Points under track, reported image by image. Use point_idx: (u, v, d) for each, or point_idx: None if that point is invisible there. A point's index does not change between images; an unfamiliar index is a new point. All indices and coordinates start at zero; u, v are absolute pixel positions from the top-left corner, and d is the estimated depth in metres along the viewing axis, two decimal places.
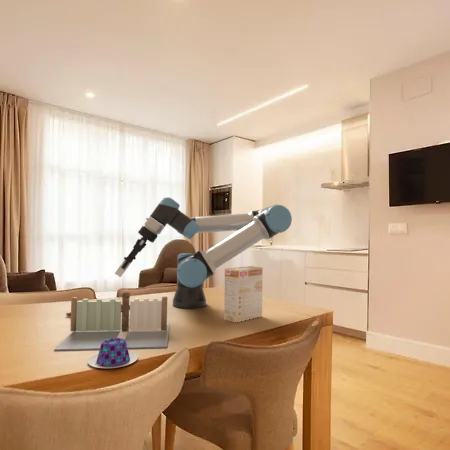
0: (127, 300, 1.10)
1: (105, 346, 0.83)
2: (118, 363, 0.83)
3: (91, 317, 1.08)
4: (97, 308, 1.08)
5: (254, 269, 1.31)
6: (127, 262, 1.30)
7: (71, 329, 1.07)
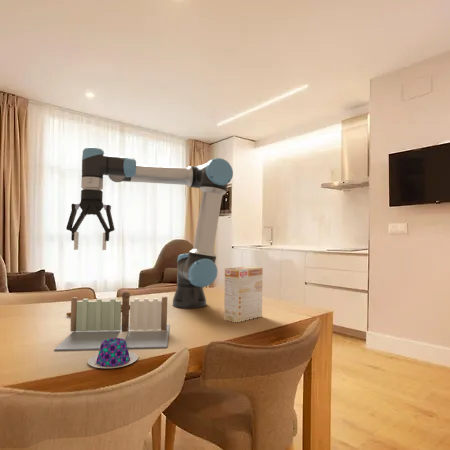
0: (127, 300, 1.10)
1: (105, 346, 0.83)
2: (118, 363, 0.83)
3: (91, 317, 1.08)
4: (97, 308, 1.08)
5: (254, 269, 1.31)
6: None
7: (71, 329, 1.07)
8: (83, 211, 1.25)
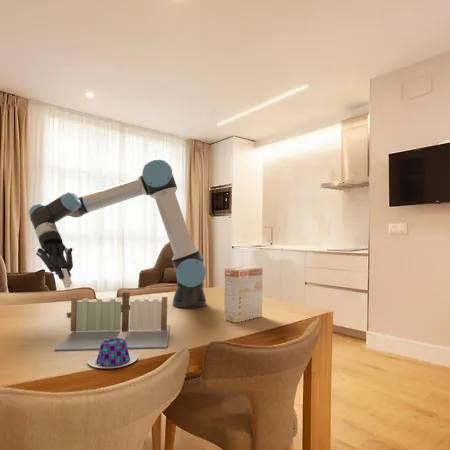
0: (127, 300, 1.10)
1: (105, 346, 0.83)
2: (118, 363, 0.83)
3: (91, 317, 1.08)
4: (97, 308, 1.08)
5: (254, 269, 1.31)
6: None
7: (71, 329, 1.07)
8: (53, 250, 1.25)
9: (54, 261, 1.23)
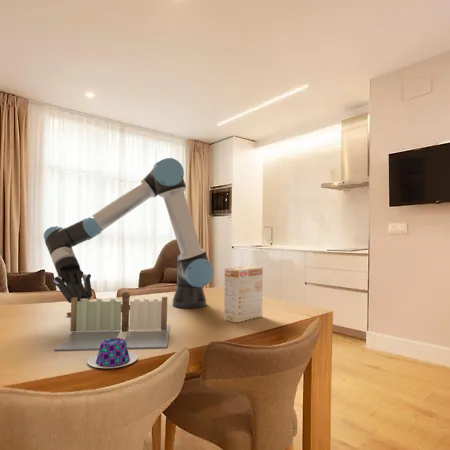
0: (127, 300, 1.10)
1: (104, 346, 0.83)
2: (117, 363, 0.82)
3: (91, 317, 1.08)
4: (97, 308, 1.08)
5: (254, 269, 1.31)
6: None
7: (71, 329, 1.07)
8: (71, 278, 1.16)
9: (72, 290, 1.14)
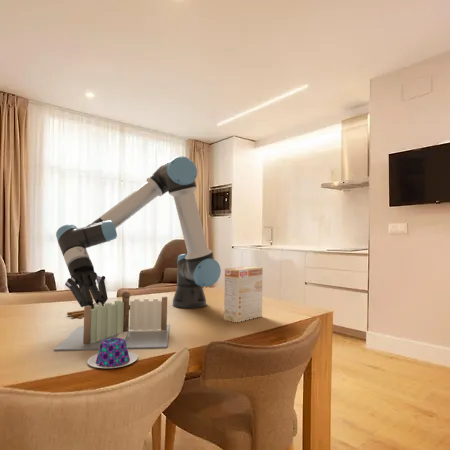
0: (127, 300, 1.10)
1: (104, 346, 0.83)
2: (116, 363, 0.82)
3: (102, 324, 1.01)
4: (108, 313, 1.02)
5: (254, 269, 1.31)
6: None
7: (87, 342, 0.95)
8: (84, 280, 1.09)
9: (85, 293, 1.07)
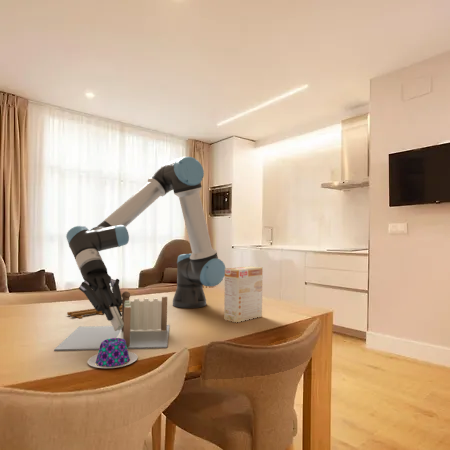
0: (127, 300, 1.10)
1: (103, 346, 0.83)
2: (115, 363, 0.82)
3: None
4: None
5: (254, 269, 1.31)
6: None
7: (129, 343, 0.95)
8: (99, 284, 1.04)
9: (100, 297, 1.02)
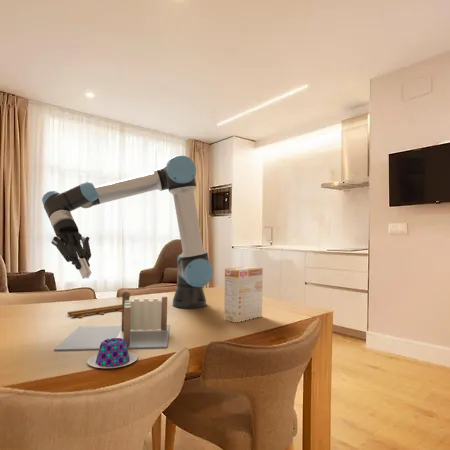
0: (127, 300, 1.10)
1: (103, 345, 0.83)
2: (114, 364, 0.82)
3: None
4: None
5: (254, 269, 1.31)
6: None
7: (129, 343, 0.95)
8: (69, 239, 1.17)
9: (70, 250, 1.15)
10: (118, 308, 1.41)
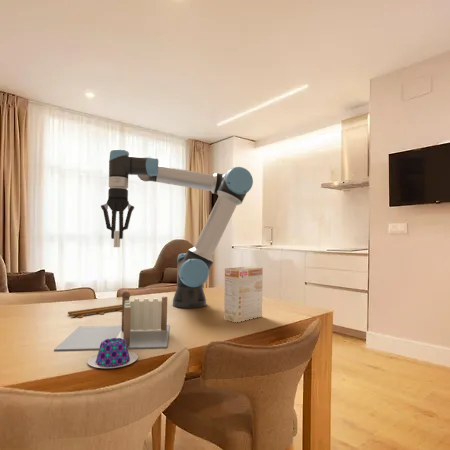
0: (127, 300, 1.10)
1: (102, 345, 0.83)
2: (113, 364, 0.82)
3: None
4: None
5: (254, 269, 1.31)
6: (122, 231, 1.37)
7: (129, 343, 0.95)
8: (113, 209, 1.35)
9: (112, 220, 1.36)
10: (118, 308, 1.41)
